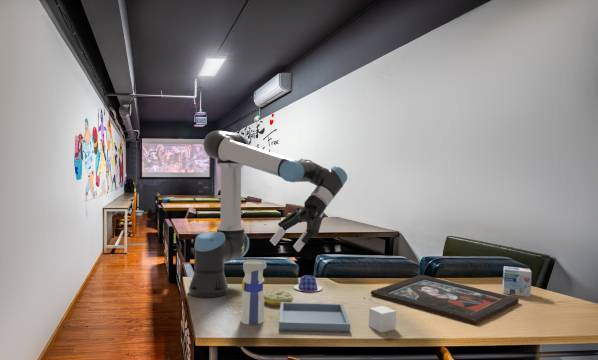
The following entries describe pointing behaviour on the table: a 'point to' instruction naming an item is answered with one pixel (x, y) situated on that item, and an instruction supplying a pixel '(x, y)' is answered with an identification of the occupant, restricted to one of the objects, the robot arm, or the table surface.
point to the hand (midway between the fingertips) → (283, 246)
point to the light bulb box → (517, 281)
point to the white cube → (382, 318)
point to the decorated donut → (277, 297)
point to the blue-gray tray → (313, 317)
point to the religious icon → (447, 298)
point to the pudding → (308, 284)
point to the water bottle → (253, 292)
